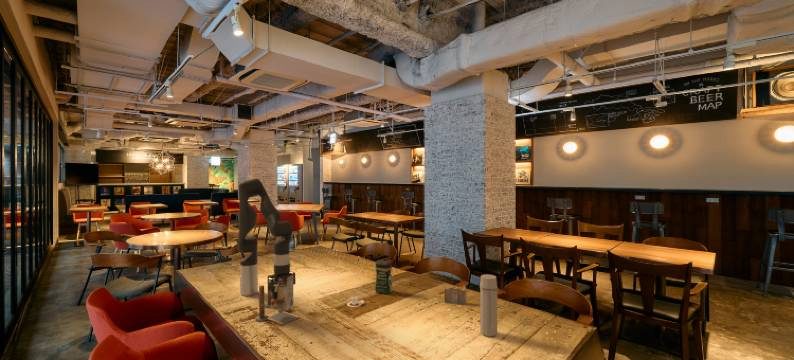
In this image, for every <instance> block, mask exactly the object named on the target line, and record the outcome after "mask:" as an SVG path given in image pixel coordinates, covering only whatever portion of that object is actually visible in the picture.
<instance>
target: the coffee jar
mask: <svg viewBox="0 0 794 360" xmlns="http://www.w3.org/2000/svg"><path fill="white" fill-rule="evenodd" d="M374 268H375V273H376V275H375V277H376V278H375V286H374V287H375V289H374V291H375V292H376V293H378V294H383V295H388V294H391V293H392V292H393V283H392V270H393V264H392V261H391V260H383V259H378V260H376V262H375V266H374Z"/></svg>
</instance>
